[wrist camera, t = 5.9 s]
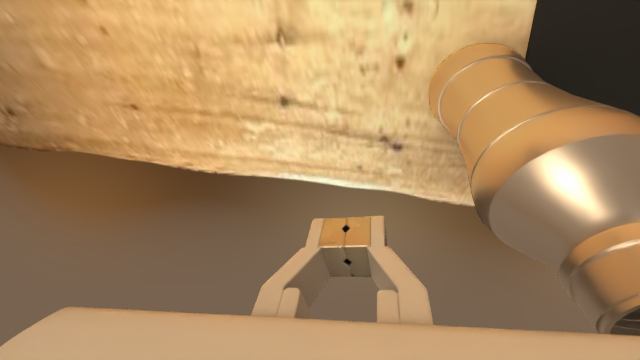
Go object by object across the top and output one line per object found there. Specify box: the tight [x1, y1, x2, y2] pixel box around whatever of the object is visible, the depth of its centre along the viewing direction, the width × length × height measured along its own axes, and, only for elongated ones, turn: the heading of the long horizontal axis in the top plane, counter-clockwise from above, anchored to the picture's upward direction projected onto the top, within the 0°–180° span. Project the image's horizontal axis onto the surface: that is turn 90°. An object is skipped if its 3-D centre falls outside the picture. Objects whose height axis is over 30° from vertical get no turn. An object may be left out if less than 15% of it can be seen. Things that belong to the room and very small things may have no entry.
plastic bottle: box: [429, 44, 640, 336], centre depth 14 cm, size 6×7×20 cm
